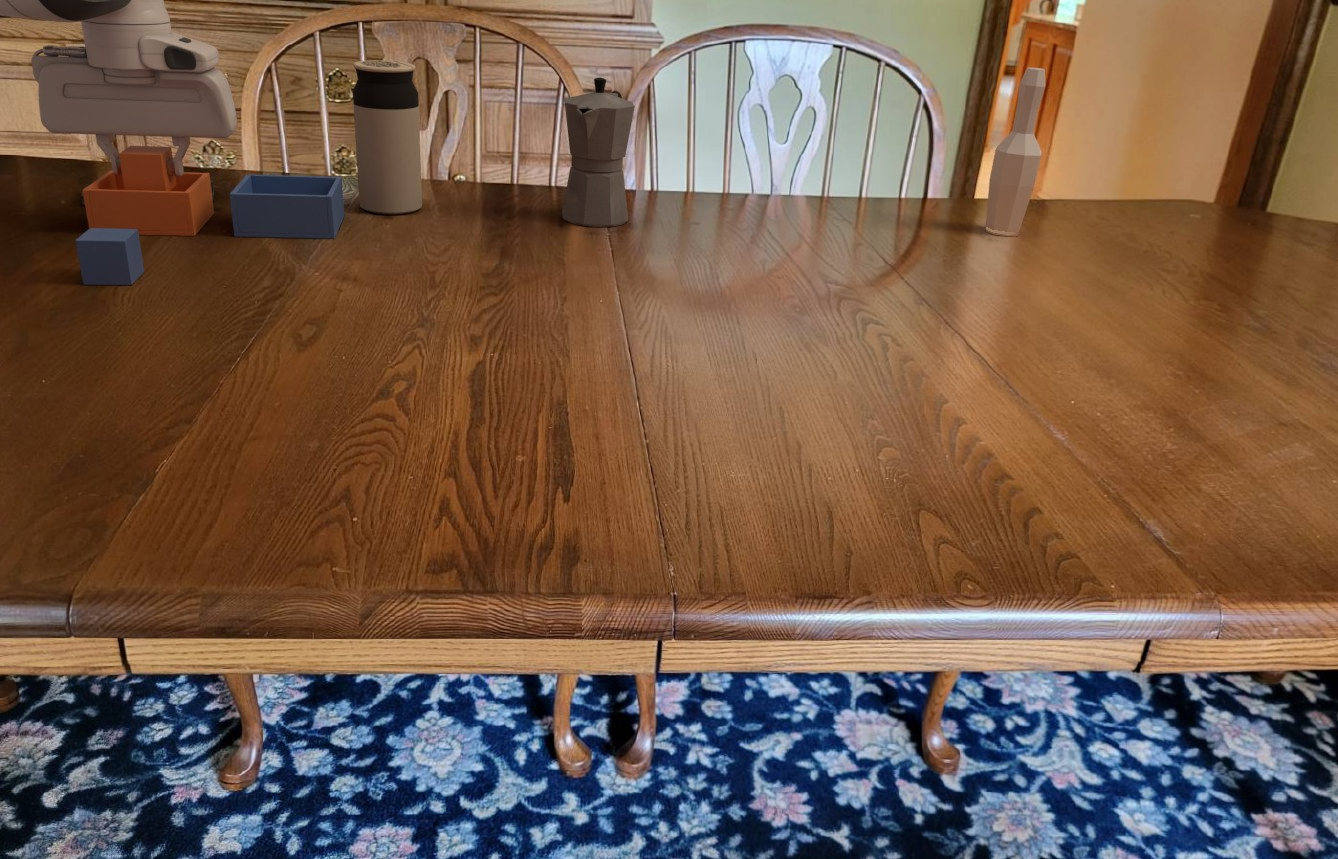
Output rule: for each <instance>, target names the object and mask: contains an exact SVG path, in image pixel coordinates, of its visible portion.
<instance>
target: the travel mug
mask: <svg viewBox="0 0 1338 859" xmlns="http://www.w3.org/2000/svg"><path fill="white" fill-rule="evenodd" d="M352 66H353V68H354V69H355V72H356V78H357V80H356V82H355V85H354V87H353V89H352V100H353V101H352V102H353V105H352V106H353V117H354V118H353V121H354V138H355V151H356V152H355V154H356V169H357V186H358V203H359V205H358V206H359V207H360V208H362V209H363V210H365V211H367V212H369V213H372V214H378V215H389V216H390V215H392V216H393V215H395V216H396V215H404V214H405V215H406V214H411V213H413V212H416V211H418V210H420V209H421V208H422V207H423V189H422V187H423V186H422V159H421V156H422V155H421V135H420V134H421V131H420V130H421V128H420V102H419V101H420V100H419V98H420V97H419V91H418V90H417V88H416V86H415V83H414V82H413V78H414V71H415V70H416V65H414V64H413V63H409V62H405V61H395V60H381V59H379V60H377V59H374V60H372V59H371V60H369V59H368V60H359V61H355V62H354V63H352Z"/></svg>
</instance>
